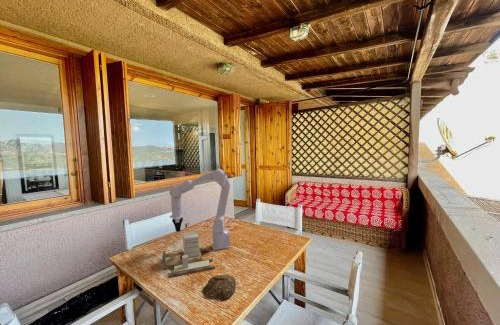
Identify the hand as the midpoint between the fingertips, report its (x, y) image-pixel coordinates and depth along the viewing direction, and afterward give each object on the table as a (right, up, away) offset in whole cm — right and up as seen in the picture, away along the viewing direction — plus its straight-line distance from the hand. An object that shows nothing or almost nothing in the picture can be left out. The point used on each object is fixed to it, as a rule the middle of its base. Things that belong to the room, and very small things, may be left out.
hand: (178, 231), depth 122 cm
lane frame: (+12, -11, -15) cm, 22 cm away
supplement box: (+11, -11, -11) cm, 19 cm away
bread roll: (+28, -12, -36) cm, 47 cm away
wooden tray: (+6, -11, -13) cm, 18 cm away
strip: (+13, -11, -21) cm, 27 cm away
